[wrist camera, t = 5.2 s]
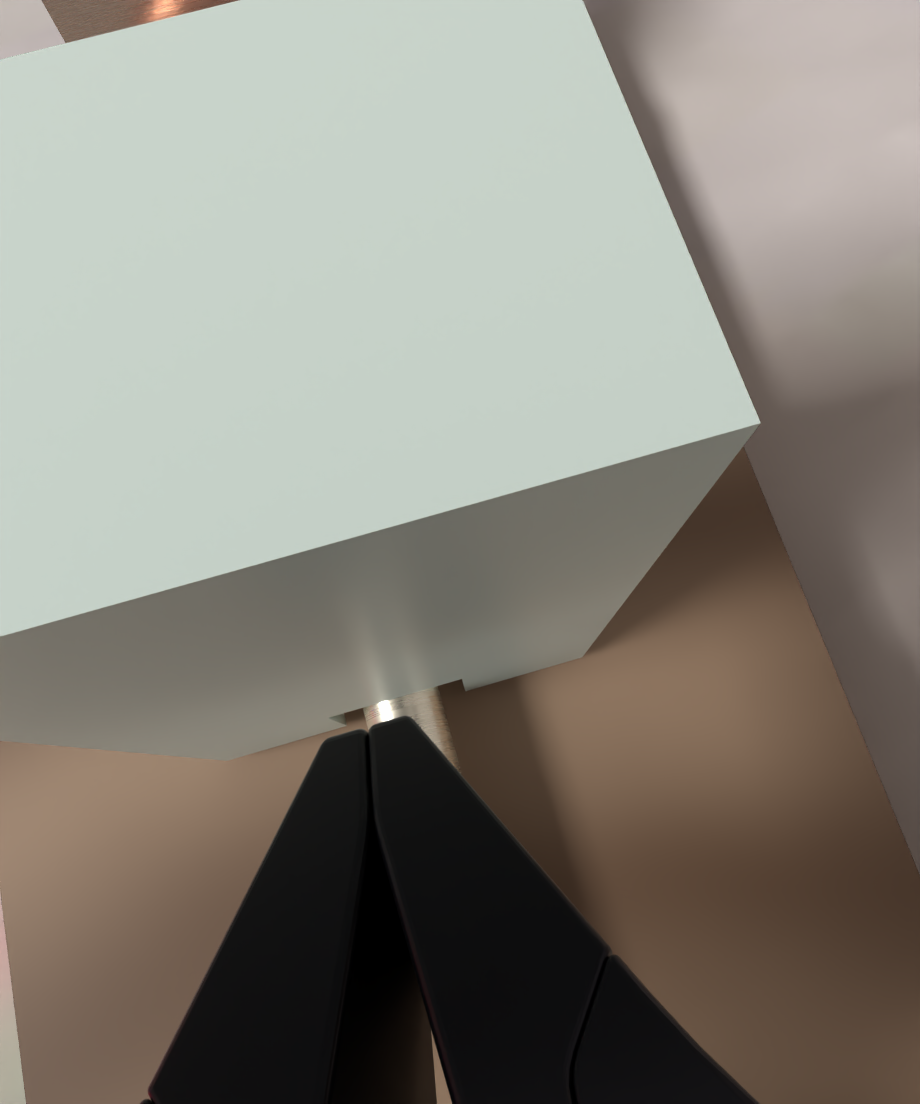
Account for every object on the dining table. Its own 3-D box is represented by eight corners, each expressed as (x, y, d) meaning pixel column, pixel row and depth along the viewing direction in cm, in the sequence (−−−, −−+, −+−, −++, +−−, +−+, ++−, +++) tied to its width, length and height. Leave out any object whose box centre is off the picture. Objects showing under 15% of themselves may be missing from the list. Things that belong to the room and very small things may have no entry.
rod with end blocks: (744, 1299, 12) (965, 1736, 7) (415, 1407, 12) (353, 1959, 6) (346, 33, 19) (287, -287, 13) (129, 88, 18) (-25, -214, 13)
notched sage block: (582, 657, 14) (762, 423, 5) (227, 760, 13) (-282, 715, 4) (511, 441, 15) (549, -78, 6) (180, 533, 14) (-303, 135, 6)
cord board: (1016, 1218, 13) (1088, 1276, 11) (135, 1512, 12) (84, 1616, 11) (535, 12, 20) (540, -53, 18) (-51, 161, 19) (-99, 106, 17)
